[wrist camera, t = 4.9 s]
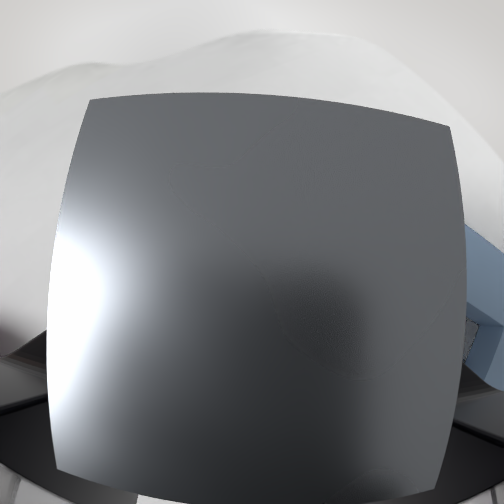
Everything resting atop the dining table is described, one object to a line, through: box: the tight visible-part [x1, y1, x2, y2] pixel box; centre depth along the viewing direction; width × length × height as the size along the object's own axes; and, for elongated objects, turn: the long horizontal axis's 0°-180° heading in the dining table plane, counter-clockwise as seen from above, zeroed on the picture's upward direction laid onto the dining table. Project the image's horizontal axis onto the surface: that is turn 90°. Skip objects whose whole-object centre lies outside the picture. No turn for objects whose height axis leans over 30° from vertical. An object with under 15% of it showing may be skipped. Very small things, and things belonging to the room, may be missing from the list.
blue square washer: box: [464, 224, 504, 391], centre depth 17 cm, size 14×14×3 cm
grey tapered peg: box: [47, 93, 467, 504], centre depth 9 cm, size 4×4×13 cm
